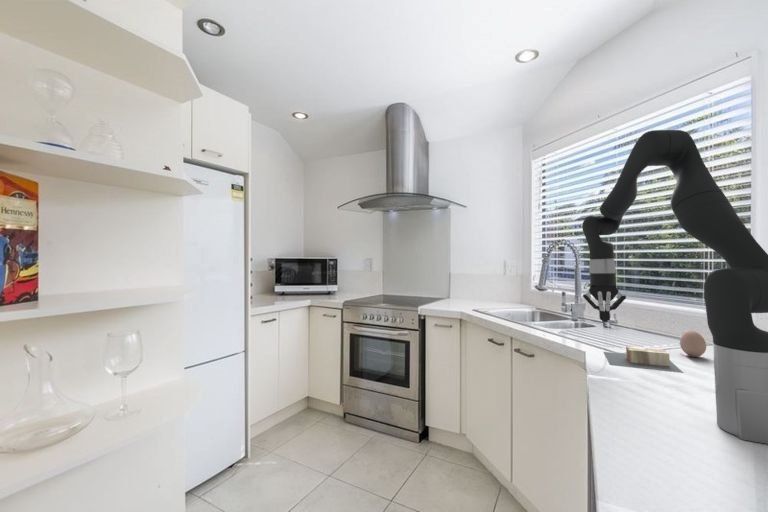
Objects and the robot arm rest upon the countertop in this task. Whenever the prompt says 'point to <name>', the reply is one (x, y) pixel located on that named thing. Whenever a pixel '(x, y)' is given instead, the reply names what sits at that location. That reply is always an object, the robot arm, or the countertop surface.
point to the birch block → (648, 356)
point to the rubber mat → (622, 360)
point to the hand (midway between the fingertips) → (604, 321)
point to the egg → (693, 343)
